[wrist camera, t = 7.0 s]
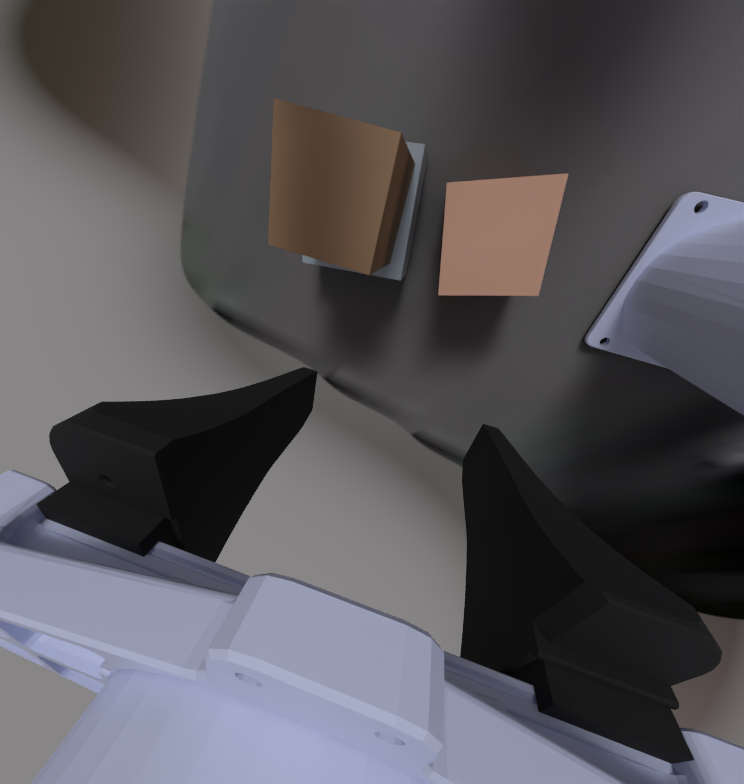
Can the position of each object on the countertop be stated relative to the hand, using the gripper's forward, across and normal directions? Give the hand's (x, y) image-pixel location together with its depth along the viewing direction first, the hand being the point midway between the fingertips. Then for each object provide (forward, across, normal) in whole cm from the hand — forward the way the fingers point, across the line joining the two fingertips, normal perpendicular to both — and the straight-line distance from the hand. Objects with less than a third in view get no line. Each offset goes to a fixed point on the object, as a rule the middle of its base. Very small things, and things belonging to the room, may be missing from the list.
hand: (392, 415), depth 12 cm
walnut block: (+7, +5, -7) cm, 11 cm away
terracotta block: (+10, -2, -7) cm, 12 cm away
